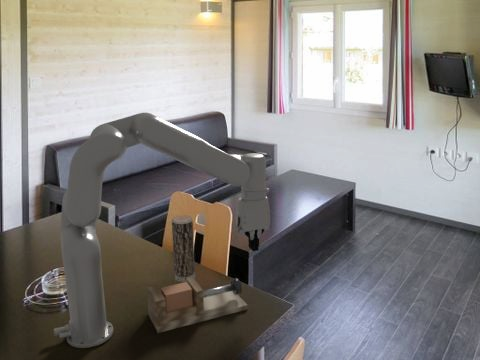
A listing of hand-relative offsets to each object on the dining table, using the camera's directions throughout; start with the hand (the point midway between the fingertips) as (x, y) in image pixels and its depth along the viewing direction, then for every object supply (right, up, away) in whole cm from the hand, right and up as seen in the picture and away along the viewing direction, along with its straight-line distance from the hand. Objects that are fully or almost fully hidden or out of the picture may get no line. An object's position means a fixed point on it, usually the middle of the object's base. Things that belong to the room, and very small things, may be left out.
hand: (253, 249), depth 144 cm
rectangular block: (-23, -18, -6) cm, 30 cm away
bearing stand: (-17, -19, -3) cm, 26 cm away
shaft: (-12, -15, -2) cm, 19 cm away
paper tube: (-23, -15, +11) cm, 30 cm away
